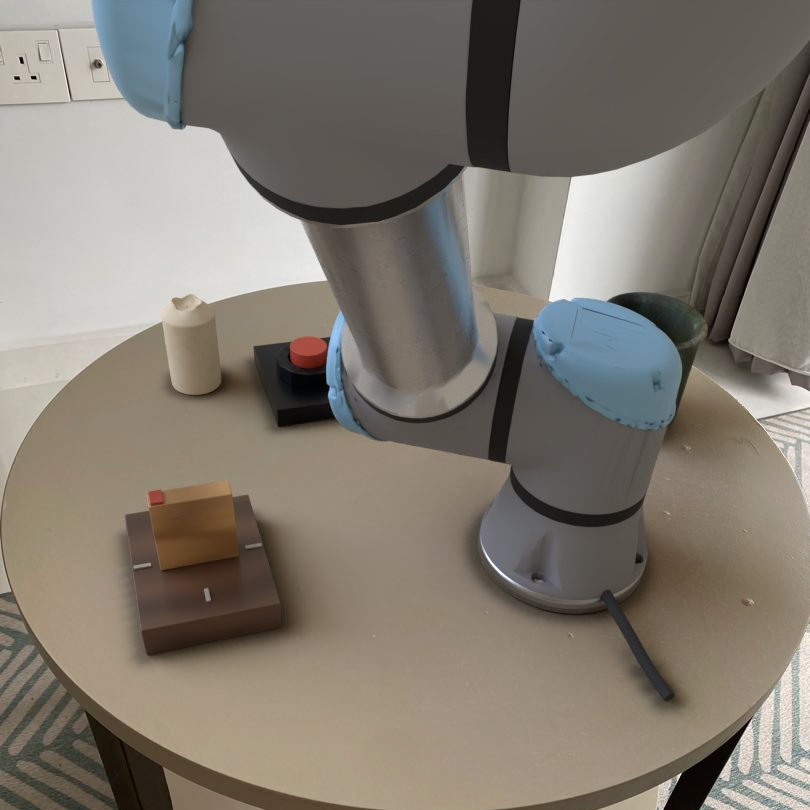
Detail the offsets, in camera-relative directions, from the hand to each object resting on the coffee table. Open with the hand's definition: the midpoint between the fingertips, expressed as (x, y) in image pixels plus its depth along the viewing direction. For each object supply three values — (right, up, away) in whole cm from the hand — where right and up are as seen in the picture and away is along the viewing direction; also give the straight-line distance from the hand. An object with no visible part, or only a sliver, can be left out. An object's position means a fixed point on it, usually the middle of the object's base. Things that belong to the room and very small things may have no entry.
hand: (492, 162), depth 79 cm
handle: (-25, -36, -6) cm, 44 cm away
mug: (+17, -22, +17) cm, 33 cm away
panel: (-26, -38, -4) cm, 46 cm away
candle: (-31, -17, +18) cm, 40 cm away
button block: (-19, -17, +19) cm, 32 cm away
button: (-19, -15, +16) cm, 29 cm away
